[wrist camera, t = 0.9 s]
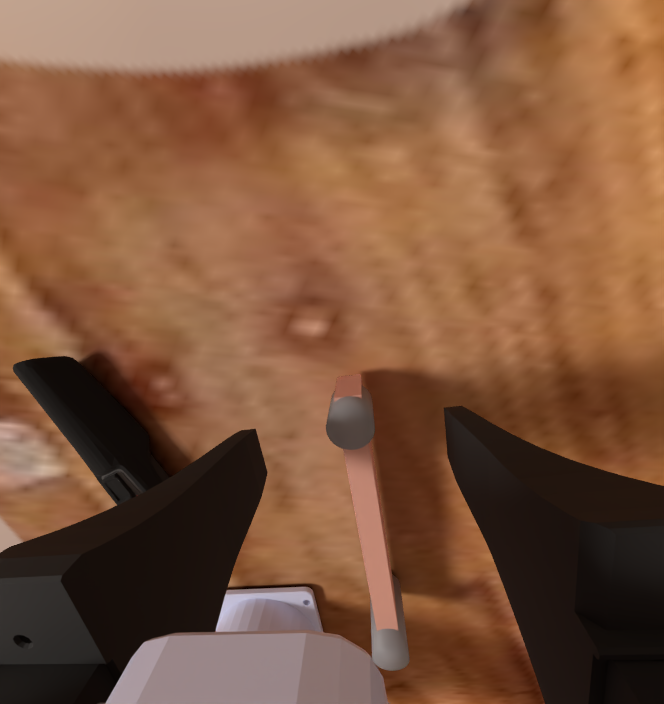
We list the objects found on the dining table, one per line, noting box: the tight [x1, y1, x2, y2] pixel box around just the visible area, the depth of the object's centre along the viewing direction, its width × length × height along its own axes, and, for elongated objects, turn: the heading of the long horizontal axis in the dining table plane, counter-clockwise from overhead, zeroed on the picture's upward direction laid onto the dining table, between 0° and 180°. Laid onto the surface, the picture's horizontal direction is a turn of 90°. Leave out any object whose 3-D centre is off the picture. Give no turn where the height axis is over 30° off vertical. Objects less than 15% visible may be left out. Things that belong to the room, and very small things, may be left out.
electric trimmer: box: [13, 356, 170, 505], centre depth 18 cm, size 4×16×3 cm, turn 27°
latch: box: [326, 374, 409, 671], centre depth 17 cm, size 16×2×4 cm, turn 10°
